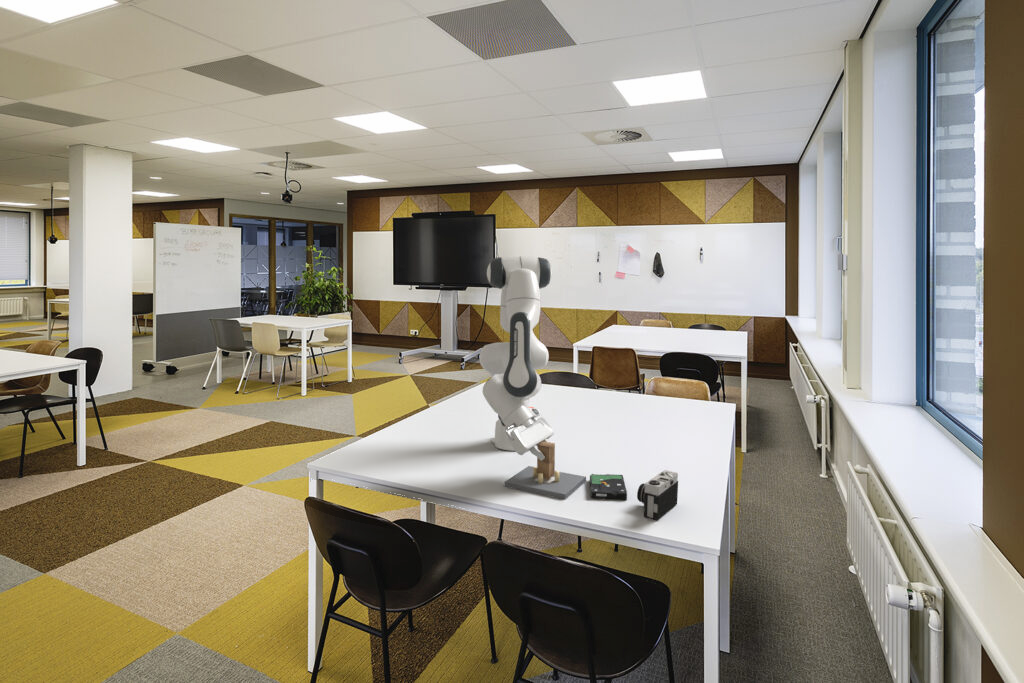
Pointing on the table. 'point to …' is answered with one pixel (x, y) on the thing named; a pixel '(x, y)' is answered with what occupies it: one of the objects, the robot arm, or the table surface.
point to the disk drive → (608, 487)
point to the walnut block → (546, 460)
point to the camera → (659, 494)
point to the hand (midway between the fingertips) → (547, 456)
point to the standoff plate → (546, 483)
